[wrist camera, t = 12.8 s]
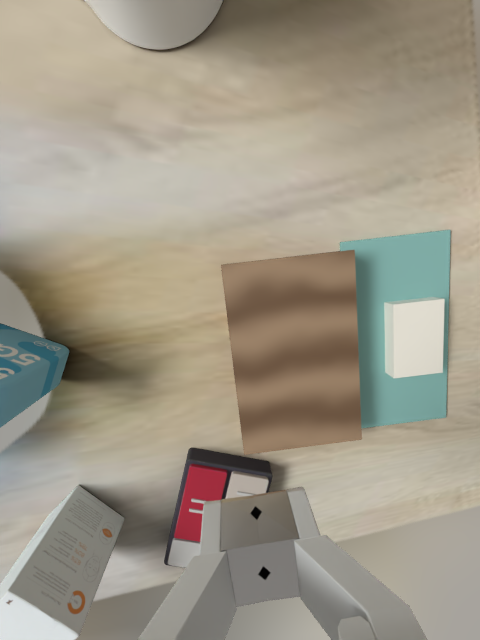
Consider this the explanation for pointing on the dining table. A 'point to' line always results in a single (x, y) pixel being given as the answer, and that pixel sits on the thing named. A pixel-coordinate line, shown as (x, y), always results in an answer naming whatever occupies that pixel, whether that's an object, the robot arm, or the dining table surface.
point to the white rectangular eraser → (414, 337)
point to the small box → (59, 571)
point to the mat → (371, 292)
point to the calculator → (210, 495)
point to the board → (295, 350)
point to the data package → (27, 370)
